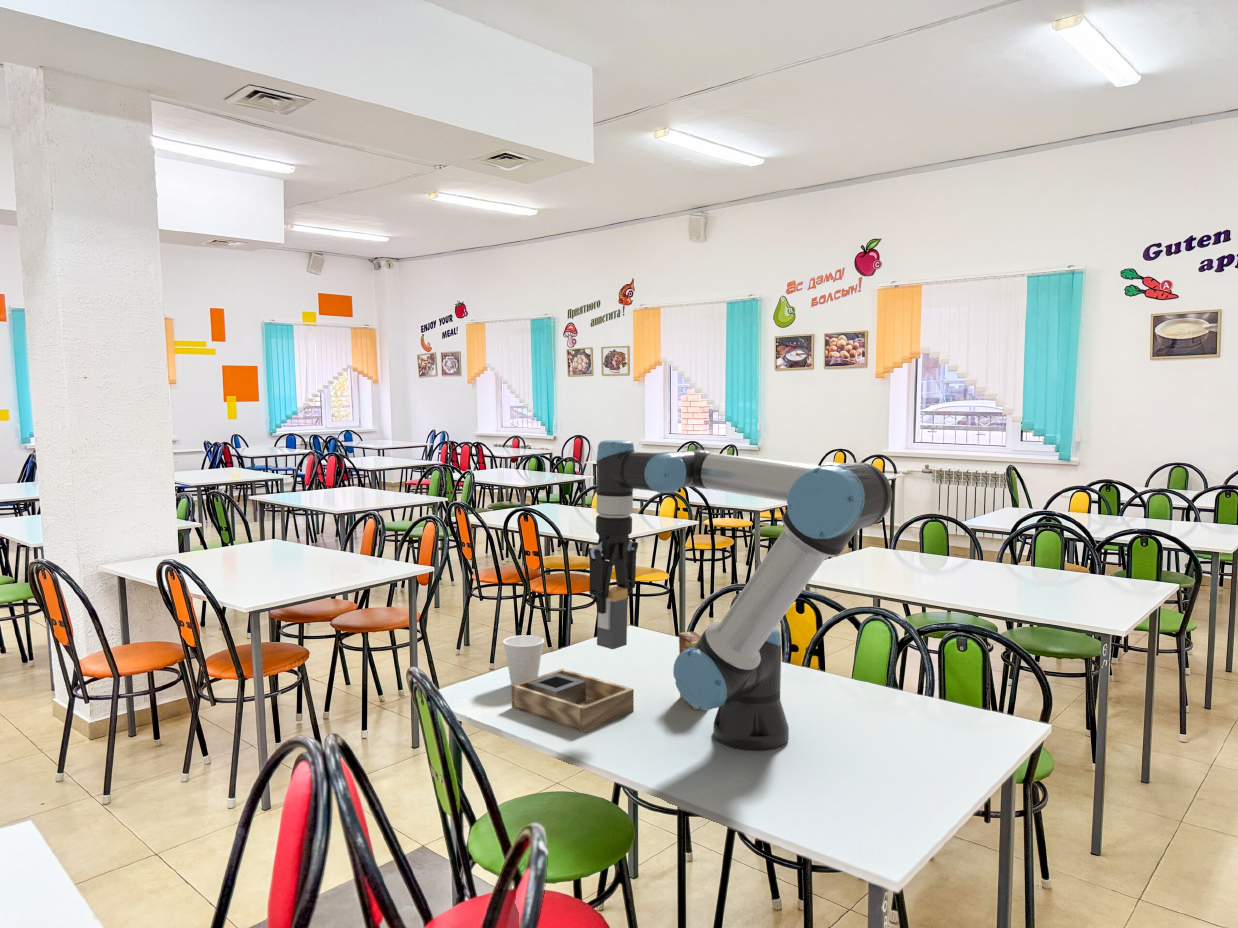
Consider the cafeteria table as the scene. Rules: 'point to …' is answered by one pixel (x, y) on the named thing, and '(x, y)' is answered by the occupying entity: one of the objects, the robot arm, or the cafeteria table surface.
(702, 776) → the cafeteria table surface
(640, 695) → the cafeteria table surface
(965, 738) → the cafeteria table surface
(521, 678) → the cup
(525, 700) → the tray
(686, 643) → the candy box
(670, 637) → the cafeteria table surface
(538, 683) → the frame
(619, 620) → the connector
